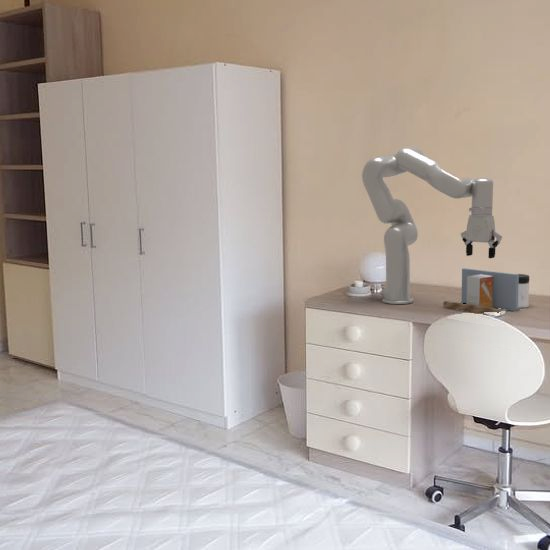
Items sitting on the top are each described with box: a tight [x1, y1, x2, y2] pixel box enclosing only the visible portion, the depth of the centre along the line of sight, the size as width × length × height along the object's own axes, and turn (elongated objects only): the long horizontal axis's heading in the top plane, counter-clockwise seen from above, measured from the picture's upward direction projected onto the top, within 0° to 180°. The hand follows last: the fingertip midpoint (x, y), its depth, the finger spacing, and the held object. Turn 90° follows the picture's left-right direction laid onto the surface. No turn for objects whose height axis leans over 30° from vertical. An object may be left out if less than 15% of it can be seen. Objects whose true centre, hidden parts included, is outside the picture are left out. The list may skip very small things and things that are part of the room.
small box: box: [467, 274, 493, 308], centre depth 275 cm, size 8×6×13 cm
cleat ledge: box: [443, 300, 502, 314], centre depth 272 cm, size 24×2×2 cm, turn 41°
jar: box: [518, 273, 530, 309], centre depth 279 cm, size 9×8×12 cm
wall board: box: [460, 267, 521, 312], centre depth 279 cm, size 24×3×14 cm, turn 41°
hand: (480, 256), depth 273 cm, fingers open, 9 cm apart
